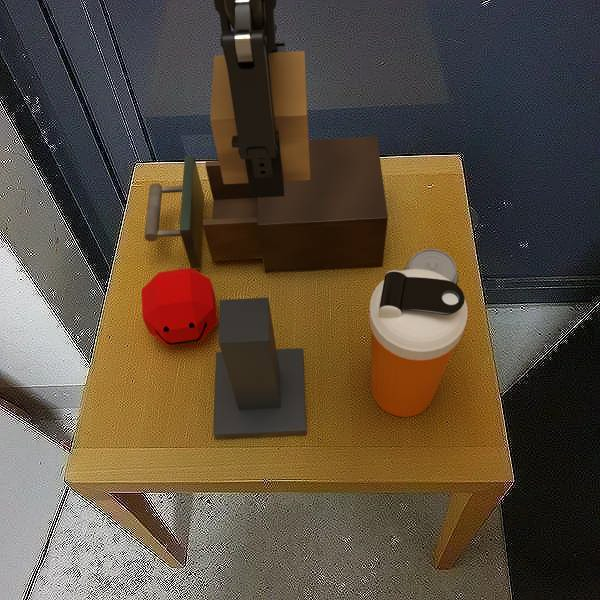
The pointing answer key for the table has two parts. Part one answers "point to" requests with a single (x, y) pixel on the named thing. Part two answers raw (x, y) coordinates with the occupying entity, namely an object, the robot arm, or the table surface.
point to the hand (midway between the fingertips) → (268, 158)
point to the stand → (256, 376)
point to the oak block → (287, 113)
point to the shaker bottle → (413, 337)
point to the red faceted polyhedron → (179, 306)
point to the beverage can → (434, 263)
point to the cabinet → (328, 211)
